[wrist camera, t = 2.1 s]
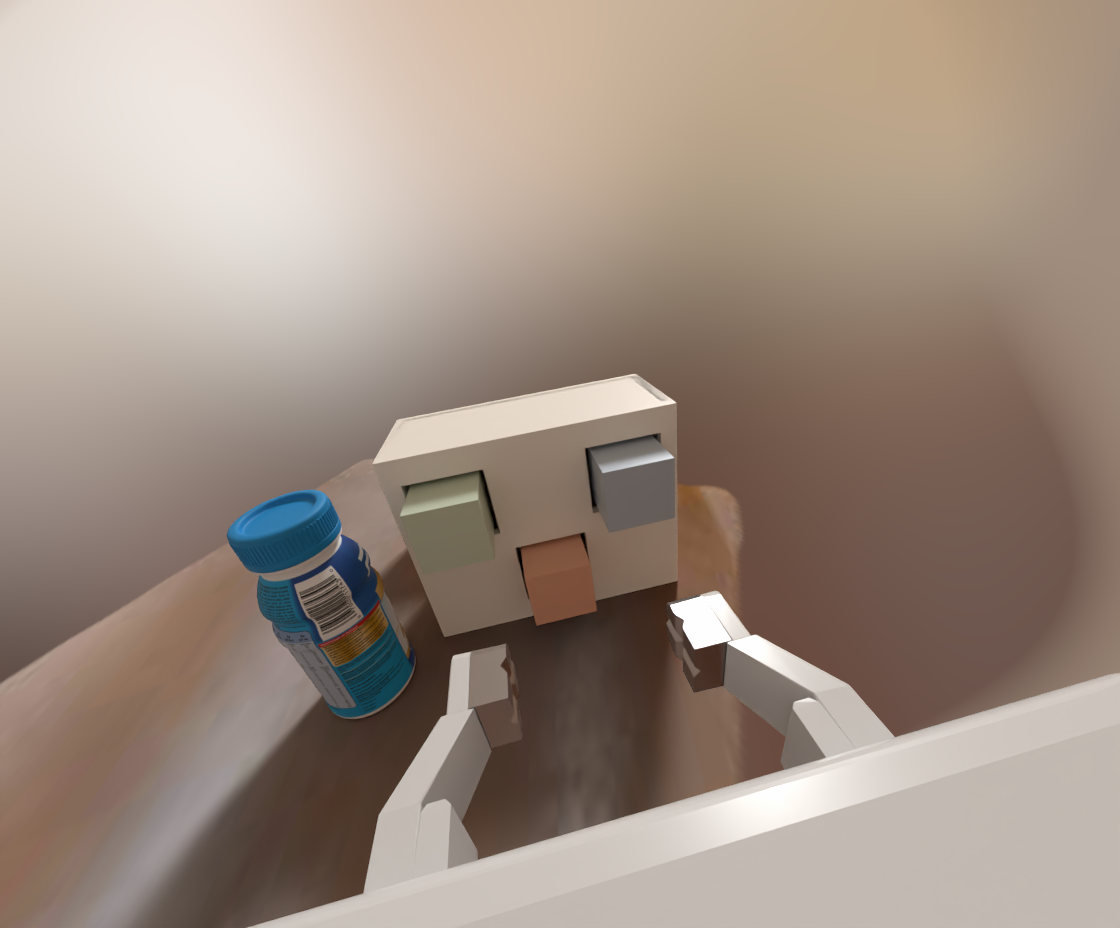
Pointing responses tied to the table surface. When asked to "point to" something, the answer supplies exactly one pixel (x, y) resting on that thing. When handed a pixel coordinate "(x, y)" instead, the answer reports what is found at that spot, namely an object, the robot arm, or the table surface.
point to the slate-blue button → (632, 482)
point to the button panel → (534, 490)
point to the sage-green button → (449, 522)
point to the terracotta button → (558, 579)
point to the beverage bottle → (325, 602)
